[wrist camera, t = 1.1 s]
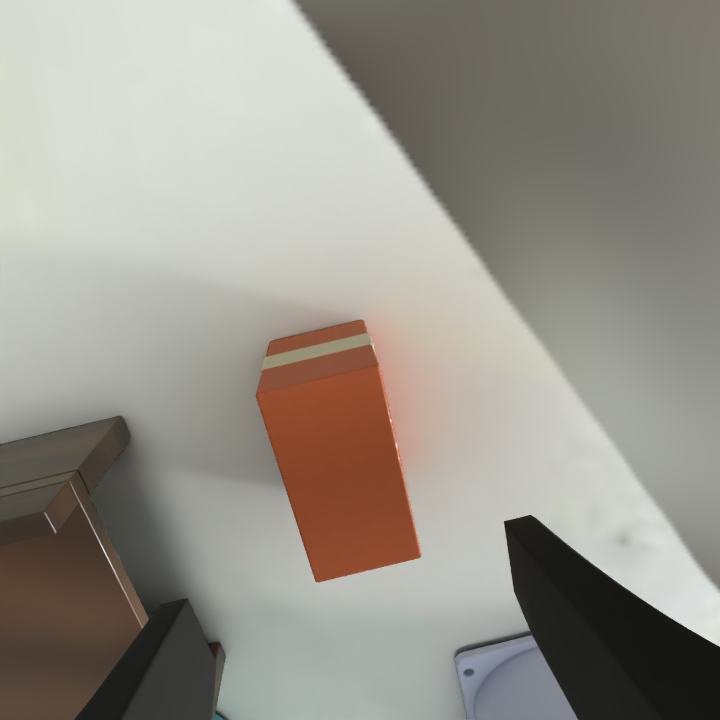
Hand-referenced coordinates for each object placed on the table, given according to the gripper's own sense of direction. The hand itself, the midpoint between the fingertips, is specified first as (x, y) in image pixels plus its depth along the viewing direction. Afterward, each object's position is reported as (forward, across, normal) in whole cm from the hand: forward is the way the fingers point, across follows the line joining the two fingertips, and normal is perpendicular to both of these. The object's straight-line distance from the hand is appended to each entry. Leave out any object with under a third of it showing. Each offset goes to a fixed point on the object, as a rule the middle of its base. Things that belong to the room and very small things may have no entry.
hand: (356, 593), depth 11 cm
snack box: (+9, 0, 0) cm, 9 cm away
